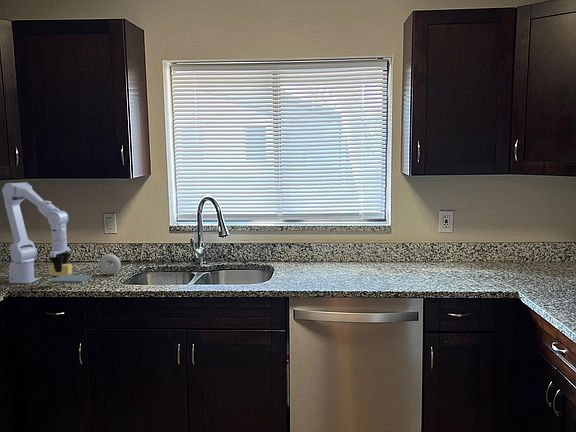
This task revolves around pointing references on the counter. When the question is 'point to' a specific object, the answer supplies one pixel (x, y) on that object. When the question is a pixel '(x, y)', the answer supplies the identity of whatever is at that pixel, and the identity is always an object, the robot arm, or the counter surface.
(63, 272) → the yellow rectangular block
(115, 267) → the donut
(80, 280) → the mat
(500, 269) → the counter surface
